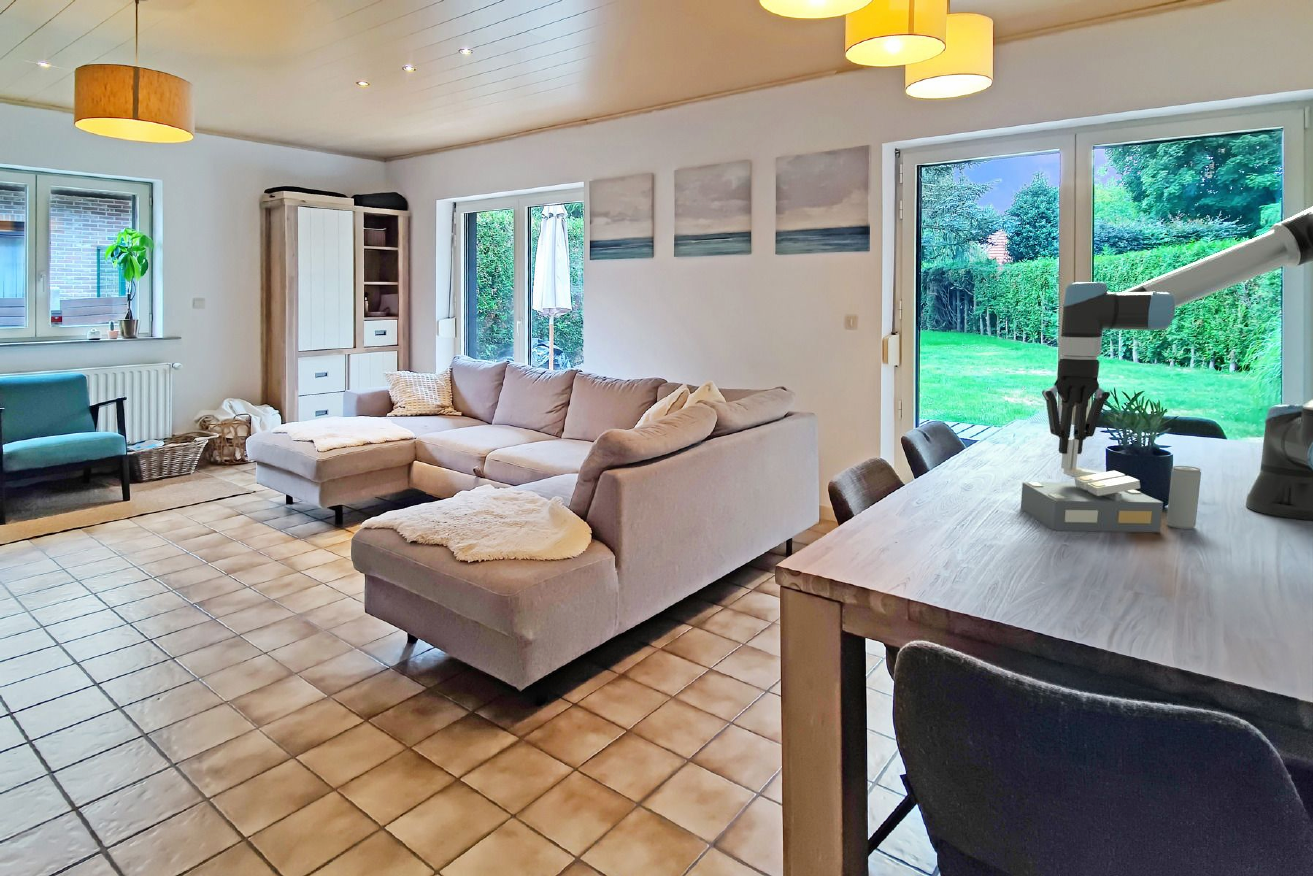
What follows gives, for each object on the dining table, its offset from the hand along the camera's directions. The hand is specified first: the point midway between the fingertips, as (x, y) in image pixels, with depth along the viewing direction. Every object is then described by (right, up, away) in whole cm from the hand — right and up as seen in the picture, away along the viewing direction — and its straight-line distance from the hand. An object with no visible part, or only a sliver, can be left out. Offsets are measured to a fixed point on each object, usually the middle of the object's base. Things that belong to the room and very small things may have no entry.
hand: (1068, 468), depth 161 cm
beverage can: (+17, -11, -9) cm, 23 cm away
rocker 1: (+4, -1, 0) cm, 4 cm away
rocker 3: (+3, -3, -11) cm, 12 cm away
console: (+2, -10, -4) cm, 11 cm away
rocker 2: (+3, -2, -5) cm, 7 cm away
